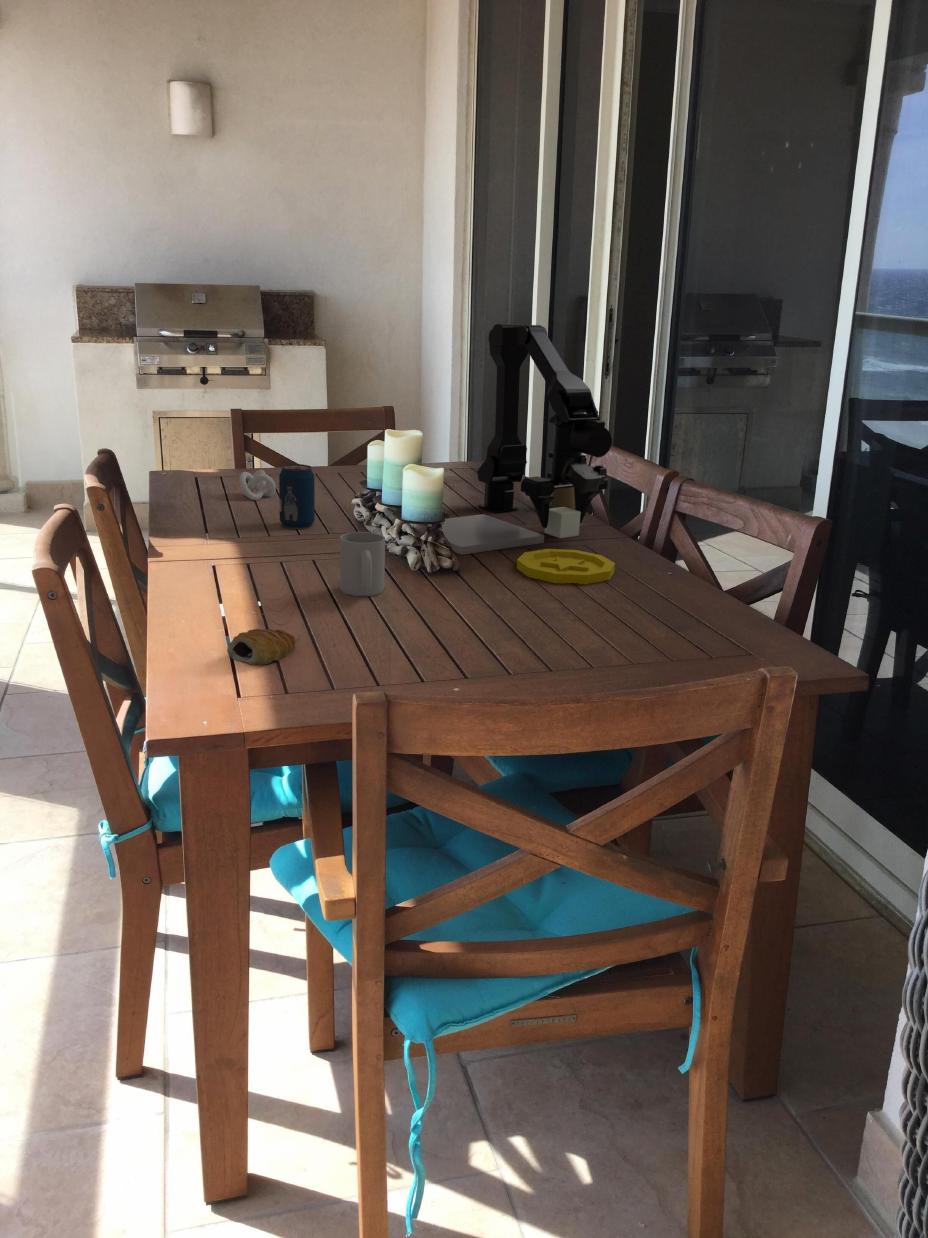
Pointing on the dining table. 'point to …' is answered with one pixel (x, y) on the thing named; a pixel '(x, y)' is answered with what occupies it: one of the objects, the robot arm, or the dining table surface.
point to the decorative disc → (565, 566)
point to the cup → (362, 563)
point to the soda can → (296, 496)
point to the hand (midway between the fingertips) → (561, 525)
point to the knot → (256, 484)
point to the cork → (563, 498)
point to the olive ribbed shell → (261, 646)
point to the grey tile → (486, 534)
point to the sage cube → (563, 522)
